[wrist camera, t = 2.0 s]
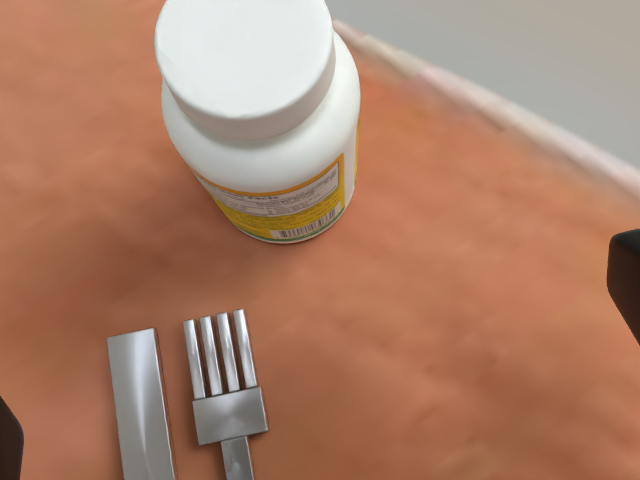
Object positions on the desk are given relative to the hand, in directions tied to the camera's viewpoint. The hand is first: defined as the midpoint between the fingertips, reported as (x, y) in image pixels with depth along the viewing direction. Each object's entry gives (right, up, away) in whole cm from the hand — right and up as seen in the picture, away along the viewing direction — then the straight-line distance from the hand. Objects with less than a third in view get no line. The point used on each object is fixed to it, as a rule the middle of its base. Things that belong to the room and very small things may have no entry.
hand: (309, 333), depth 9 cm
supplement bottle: (-1, +4, +14) cm, 15 cm away
